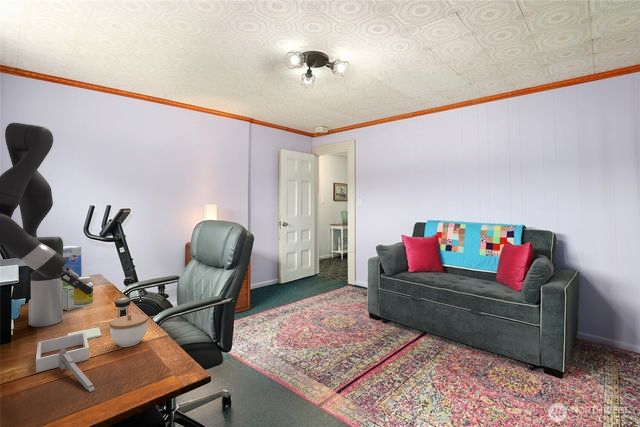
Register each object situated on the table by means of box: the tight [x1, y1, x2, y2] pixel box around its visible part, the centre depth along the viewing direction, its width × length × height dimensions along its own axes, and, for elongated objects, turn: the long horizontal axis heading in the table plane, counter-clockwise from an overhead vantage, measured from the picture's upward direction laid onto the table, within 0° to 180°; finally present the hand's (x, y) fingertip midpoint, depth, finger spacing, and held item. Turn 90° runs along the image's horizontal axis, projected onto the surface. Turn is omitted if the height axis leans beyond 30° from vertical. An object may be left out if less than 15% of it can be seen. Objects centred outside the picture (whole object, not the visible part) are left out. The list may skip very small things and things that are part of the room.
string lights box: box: [63, 245, 83, 277], centre depth 145 cm, size 13×8×26 cm, turn 153°
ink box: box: [62, 281, 80, 312], centre depth 137 cm, size 7×4×13 cm, turn 161°
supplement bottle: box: [74, 276, 94, 308], centre depth 108 cm, size 5×5×10 cm
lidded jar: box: [109, 313, 149, 348], centre depth 103 cm, size 11×11×9 cm
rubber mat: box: [66, 326, 102, 340], centre depth 108 cm, size 9×9×1 cm
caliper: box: [58, 347, 96, 393], centre depth 82 cm, size 20×1×6 cm, turn 57°
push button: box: [114, 297, 132, 318], centre depth 118 cm, size 7×5×10 cm
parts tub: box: [35, 332, 90, 373], centre depth 94 cm, size 12×15×4 cm
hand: (90, 290), depth 109 cm, fingers closed on supplement bottle, 5 cm apart
